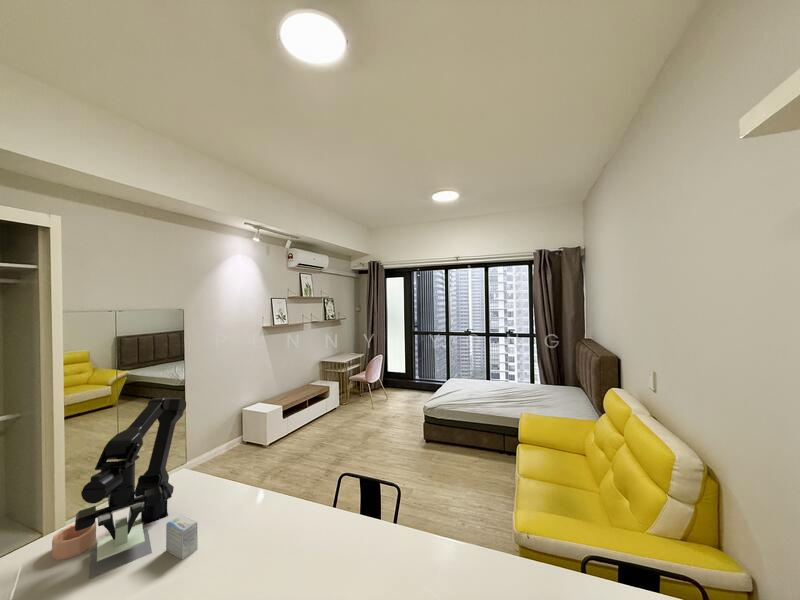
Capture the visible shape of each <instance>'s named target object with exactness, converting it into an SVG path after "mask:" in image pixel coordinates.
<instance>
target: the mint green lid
mask: <svg viewBox="0 0 800 600" xmlns="http://www.w3.org/2000/svg"><path fill="white" fill-rule="evenodd" d="M114 521H115V522H114V527H115V540H113V538H112V536H111V535H110V534H108V535H105V536H102V537H100V538H97V545H96V546H97V547H96V548H97V561H99V560H102V559H104V558H107V557H110V556H112V555H115V554H117V553H120V552H122V551H125V550H127V549H130V548H132V547H135V546H137V545H140V544H142V543H145V539H144V532H143V531H144V529H143V523H138V524H136V525H133V526H132V528H131V531H130V533H129V534H128V516H124V517H123V516H122V517H121V518H118V519H115V520H114Z"/></svg>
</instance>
